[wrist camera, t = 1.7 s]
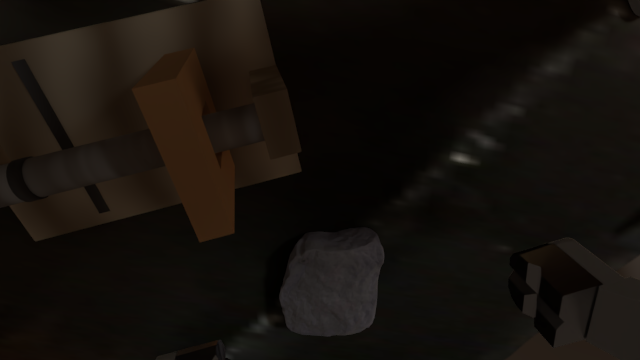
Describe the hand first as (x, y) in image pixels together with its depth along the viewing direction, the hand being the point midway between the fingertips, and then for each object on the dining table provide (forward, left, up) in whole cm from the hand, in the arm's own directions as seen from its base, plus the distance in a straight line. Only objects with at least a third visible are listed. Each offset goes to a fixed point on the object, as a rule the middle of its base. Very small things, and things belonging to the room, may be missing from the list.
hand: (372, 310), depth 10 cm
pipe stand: (+11, 0, -23) cm, 26 cm away
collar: (+6, 0, -21) cm, 22 cm away
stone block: (0, +20, -24) cm, 31 cm away
